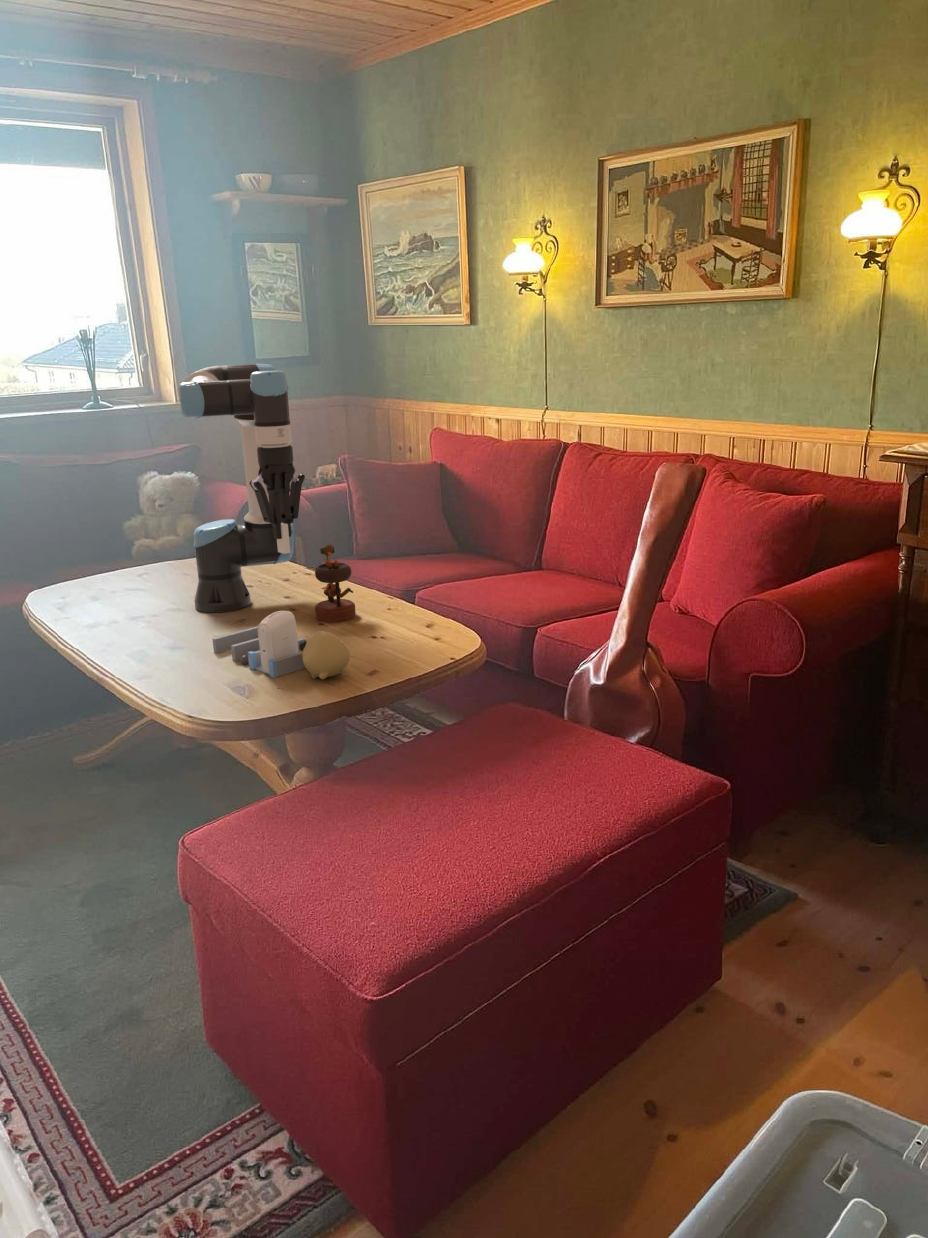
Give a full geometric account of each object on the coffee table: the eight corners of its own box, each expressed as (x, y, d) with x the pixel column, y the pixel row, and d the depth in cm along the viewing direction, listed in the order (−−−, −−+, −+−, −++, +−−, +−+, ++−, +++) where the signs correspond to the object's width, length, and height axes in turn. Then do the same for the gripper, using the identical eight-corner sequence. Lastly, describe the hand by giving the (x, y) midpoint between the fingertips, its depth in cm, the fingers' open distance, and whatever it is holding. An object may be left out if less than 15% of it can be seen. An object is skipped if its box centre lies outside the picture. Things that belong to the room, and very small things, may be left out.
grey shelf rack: (211, 653, 220) (209, 637, 219) (268, 637, 230) (267, 622, 229) (273, 678, 202) (272, 661, 201) (332, 659, 212) (331, 643, 211)
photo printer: (275, 674, 203) (269, 620, 200) (259, 672, 205) (253, 618, 201) (302, 659, 212) (297, 607, 208) (286, 657, 214) (281, 605, 210)
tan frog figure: (334, 664, 209) (331, 619, 206) (359, 679, 200) (355, 632, 197) (294, 673, 204) (289, 627, 201) (316, 689, 195) (312, 641, 191)
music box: (303, 615, 247) (303, 541, 242) (340, 611, 254) (340, 538, 249) (332, 628, 235) (332, 550, 231) (369, 623, 242) (370, 546, 237)
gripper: (257, 449, 193) (268, 560, 200) (309, 443, 202) (318, 549, 209) (238, 447, 198) (249, 555, 205) (290, 440, 207) (299, 544, 214)
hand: (284, 552), depth 207 cm, fingers closed
